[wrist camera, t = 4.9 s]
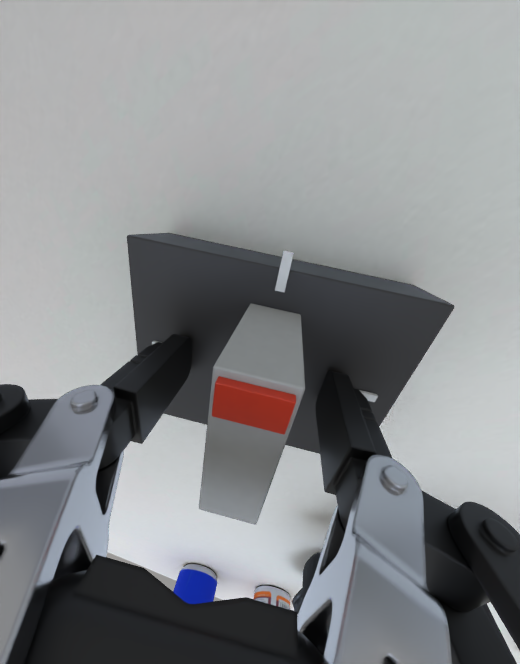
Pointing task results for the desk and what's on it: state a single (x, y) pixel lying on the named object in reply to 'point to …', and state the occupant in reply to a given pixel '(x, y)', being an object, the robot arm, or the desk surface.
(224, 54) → the desk surface
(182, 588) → the beverage can
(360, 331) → the dial panel
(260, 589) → the pill bottle
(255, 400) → the dial
